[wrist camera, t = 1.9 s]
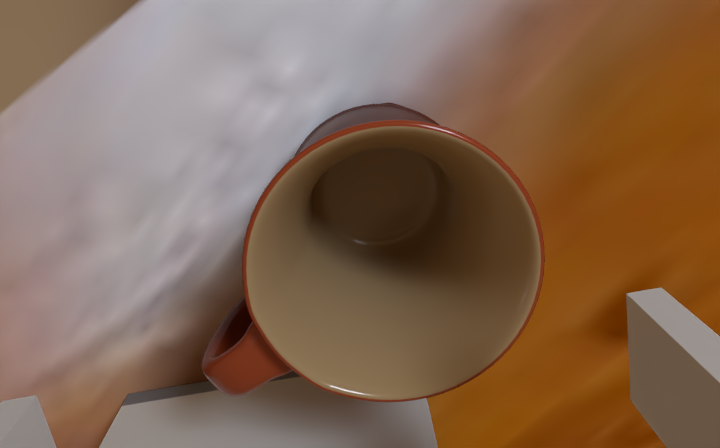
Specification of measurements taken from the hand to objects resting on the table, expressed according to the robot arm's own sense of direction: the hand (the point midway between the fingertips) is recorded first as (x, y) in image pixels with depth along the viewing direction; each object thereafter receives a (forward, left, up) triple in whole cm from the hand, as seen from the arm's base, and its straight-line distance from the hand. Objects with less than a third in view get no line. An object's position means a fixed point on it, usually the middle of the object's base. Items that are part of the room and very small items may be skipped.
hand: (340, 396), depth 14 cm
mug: (0, 0, -15) cm, 15 cm away
